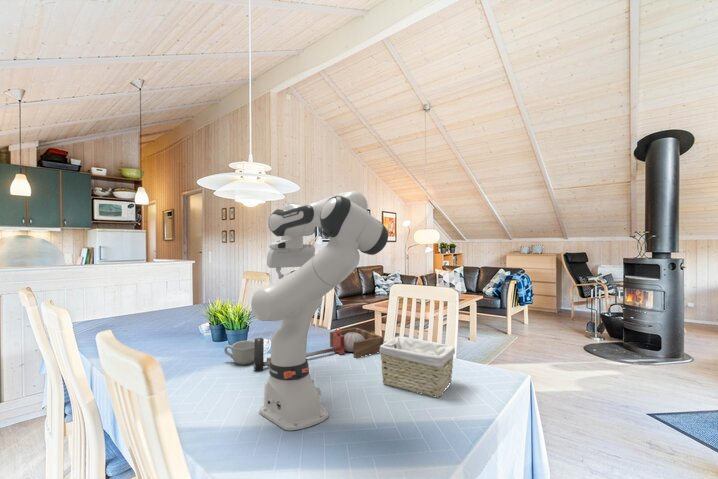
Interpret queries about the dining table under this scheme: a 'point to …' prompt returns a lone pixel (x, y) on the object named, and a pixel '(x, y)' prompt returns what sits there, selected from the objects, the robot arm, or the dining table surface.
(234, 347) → the teacup
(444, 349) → the storage basket
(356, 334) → the sea urchin shell
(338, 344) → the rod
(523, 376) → the dining table surface
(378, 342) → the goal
